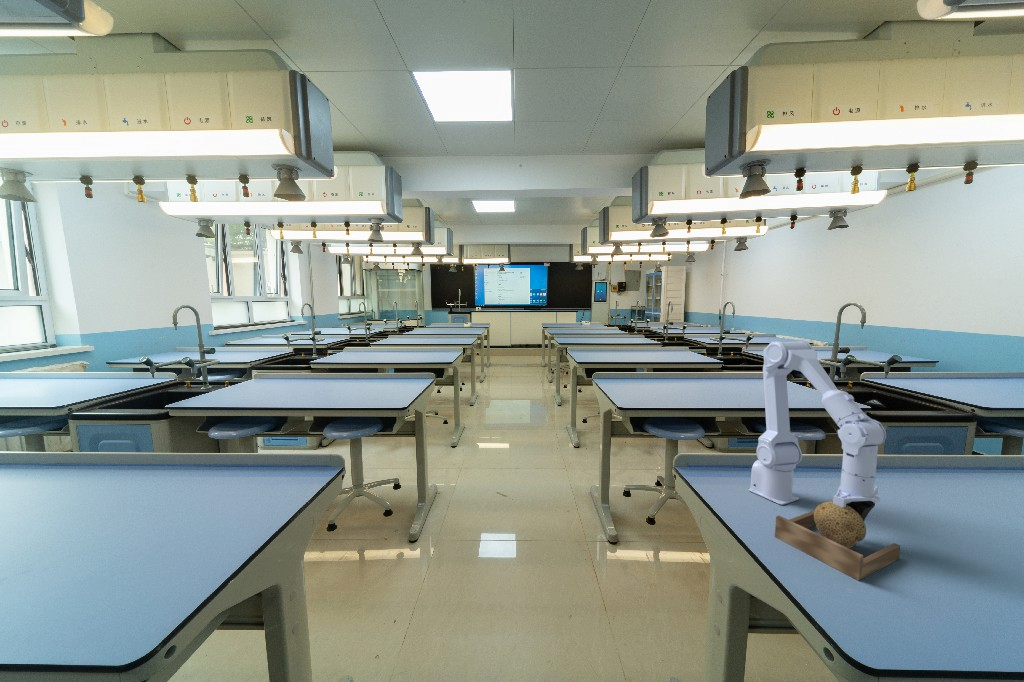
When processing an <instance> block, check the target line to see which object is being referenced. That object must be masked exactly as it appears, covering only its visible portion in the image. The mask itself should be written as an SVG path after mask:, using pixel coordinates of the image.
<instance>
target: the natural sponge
mask: <svg viewBox="0 0 1024 682" xmlns="http://www.w3.org/2000/svg"><path fill="white" fill-rule="evenodd" d="M814 510H815V512H814V520H815V523H816V526H815V527H816V528H817V532H819V535H821V536H823V537H826V538H828V539H830V540H832V541H834V542H836V543H838V544H840V545H842V546H845V547H847V548H849V549H851V548H852V547H854V546H855V545H857V543H860V542H862V541H863V540H864V539H865V538H866V536H867V526H866V524H865V520H864V521H863V519H862V518H861V516H860V515H859V514H858V513H857V512H856V511H855V510H854V509H853V508H851V507H850V506H848V505H846V507H844V508H843V507H840V506H838V505H835V504H833V501H832V500H831V501H825V502H822V503H820V504H818V505H816V507H815V509H814Z"/></svg>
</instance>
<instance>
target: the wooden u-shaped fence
mask: <svg viewBox="0 0 1024 682" xmlns="http://www.w3.org/2000/svg"><path fill="white" fill-rule="evenodd" d="M814 512H815V509H813V510H811V511H808V512H806V513H804V514H800V515H797V516H795V517H793V518H790V519H788V518H785V517H783V516H781V515H776V516H775V529H774V537H775V538H776V539H778V540H780V541H782V542H784V543H785V544H788V545H790V546H791V547H794V548H795V549H797V550H799V551H801V552H803V553H805V554H806V555H809V556H811V557H812V558H814V559H816V560H818V561H820V562H822V563H824V564H826V565H828V566H830V567H831V568H834V569H835V570H838V571H839V572H841V573H842V574H844V575H846V576H848V577H851V578H852V579H853V580H856V581H858V582H859V581H861V580H862V578H863V579H865V578H866V577H868V576H870V575H872V574H874V573H876V572H877V570H878V571H879V570H881V569H883V568H885V567H886V566H889V565H891V564H892V563H894V562H897V561H898V560H899V559H900V553H901V545H899V544H897V543H896V542H894V543H891V544H890V545H887V546H885V547H883V548H881V549H880V550H878V551H875V552H874V553H871V554H869V555H867V556H865V557H864V555H863V554H861V553H859V552H857V551H854V550H853V549H851V548H847V547H845V546H842V545H840V544H838V543H836V542H834V541H832V540H830V539H828V538H826V537H823V536H821V534H820V533H817V532H815V531H814V530H810V529H809V528H810V527H813V526H815V525H816V523H815V520H814ZM875 571H876V572H875ZM873 572H874V573H873ZM871 573H872V574H871ZM864 577H865V578H864Z"/></svg>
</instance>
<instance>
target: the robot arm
mask: <svg viewBox="0 0 1024 682" xmlns="http://www.w3.org/2000/svg"><path fill="white" fill-rule="evenodd" d="M762 352H763V365H762V378H763V393H764V407H765V409H764V411H765V424H766V425H765V426H766V427H765V428H766V430H765V431H764V432H763V433H762V434H761V435H760V436H759V437H758V441H757V442H758V443H757V446H756V457H757V459H756V460H755V461H754V463H753V465H752V466H751V472H750V473H751V474H750V475H751V476H750V486H749V487H750V488H748V491H750V492H752V493H754V494H756V495H758V496H759V497H762V498H765V499H767V500H769V501H771V502H774V503H776V504H778V505H781V506H784V505H786V504H790V503H793V502H796V501H798V500H799V499H800V497H799V496H796V495H793V483H794V482H793V481H794V469H796V468H797V464H800V462H802V460H803V452H802V449H801V448H800V444H799V439H798V437H797V436H795V435H794V434H793V433H792V432H791V426H790V423H791V422H790V411H789V410H790V409H789V407H790V406H789V395H788V380H787V379H788V377H787V376H788V375H789V374H790V373H791V372H792V371H798V372H801V374H803V376H804V377H805V378H806V380H808V381H809V383H810V384H811V385H812V386H813V387H814V388H815V390H816V391H817V392H818V393H819V394H820V395H821V396H822V398H821V403H820V404H821V405H822V407H823V408H824V409H825V410H826V412H827V413H828V414H829V416H830V417H831V418H832V420H833V422H834V423H835V424H836V425H837V426H838V427H839V429H837V436H838V438H839V439H840V441H841V449H842V450H843V451H842V452H843V453H842V464H841V465H842V466H841V475H840V483H839V484H840V485H839V487H838V488H837V491H836V494H835V495H833V504H835V505H838V506H840V507H843V508H844V507H846V505H848V506H850V507H851V508H853V509H854V510H855V511H856V512H857V513H858V514H859V515H860V516H861V518H862V519H863V521H864V522H865V521H866V518H867V516H868V515H869V513H870V512H871V510H873V509H874V508H875V506H876V503H879V502H880V501H881V497H879V496H878V494H879V486H877V485H875V483H876V473H877V462H878V451H879V450H878V449H879V446H881V445H882V444H884V442H885V441H886V439H887V432H886V429H885V428H884V426H883V424H882V423H881V421H878V420H876V419H873V418H871V417H870V416H868V415H867V414H866V413H864V411H863V410H862V409H861V407H860V406H859V405H858V404H857V403H856V402H855V398H854V396H853V395H852V394H849V392H847V391H843V390H839V389H838V388H837V387H836V385H835V383H834V382H833V380H832V379H831V378H830V376H829V375H828V373H827V372H826V370H825V369H824V367H823V366H822V365H821V362H820V361H819V360H818V352H817V351H816V350H815V349H814V348H813V347H812V345H811V343H809V342H808V341H805V340H799V341H776V340H774V341H772V342H770V343H769V344H767V346H766V347H765V348H764V349H763V350H762Z"/></svg>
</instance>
